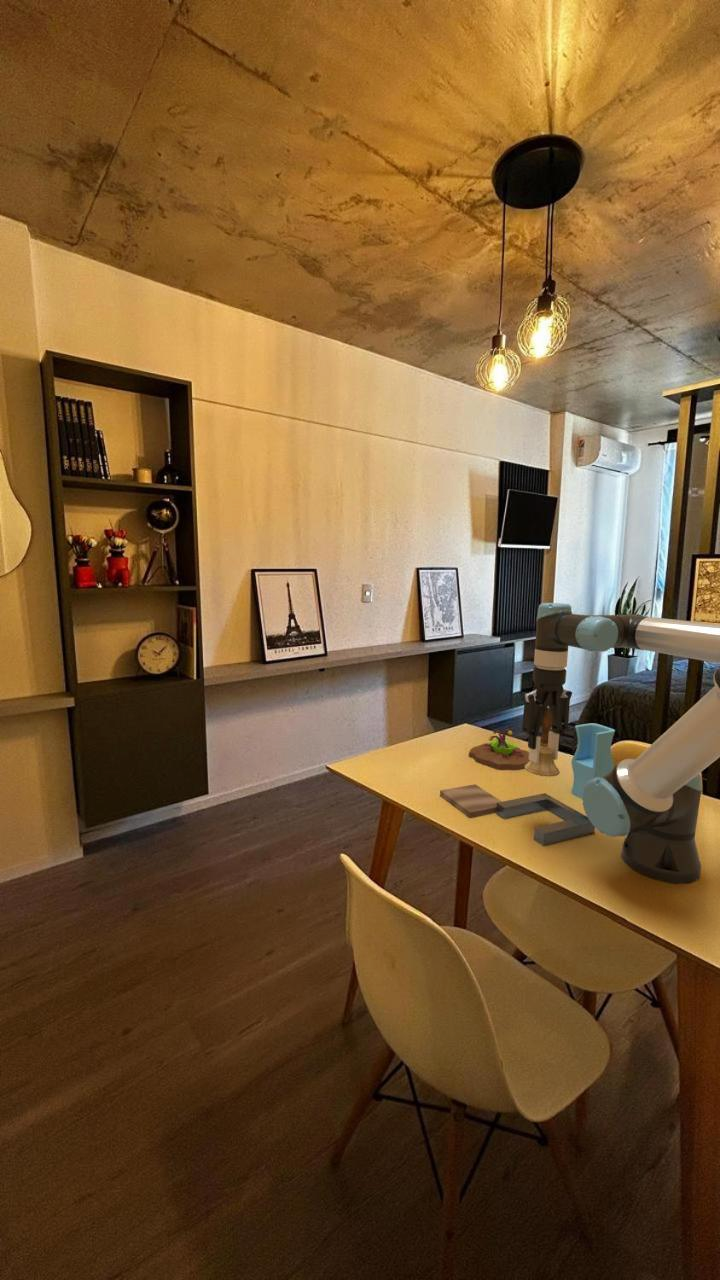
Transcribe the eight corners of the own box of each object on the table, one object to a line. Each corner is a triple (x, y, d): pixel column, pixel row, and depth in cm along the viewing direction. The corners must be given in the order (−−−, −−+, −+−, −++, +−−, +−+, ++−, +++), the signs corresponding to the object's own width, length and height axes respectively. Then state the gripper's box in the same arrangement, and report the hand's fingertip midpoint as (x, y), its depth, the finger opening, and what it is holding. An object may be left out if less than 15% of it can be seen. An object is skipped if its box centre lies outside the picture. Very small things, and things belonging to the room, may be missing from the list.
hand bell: (554, 765, 134) (559, 704, 131) (563, 777, 125) (569, 713, 123) (521, 763, 134) (525, 702, 132) (528, 775, 126) (533, 711, 124)
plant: (502, 775, 164) (504, 741, 162) (460, 755, 180) (461, 724, 179) (545, 764, 174) (548, 732, 172) (501, 746, 190) (504, 716, 189)
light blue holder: (568, 792, 152) (574, 725, 149) (587, 787, 156) (593, 722, 153) (591, 803, 145) (598, 733, 142) (610, 798, 149) (617, 730, 146)
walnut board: (506, 810, 140) (507, 804, 139) (469, 817, 135) (470, 812, 134) (474, 789, 152) (475, 784, 152) (439, 795, 147) (440, 790, 147)
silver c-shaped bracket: (594, 832, 129) (595, 821, 128) (542, 845, 122) (543, 833, 122) (544, 803, 144) (545, 793, 144) (496, 813, 137) (496, 802, 137)
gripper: (566, 662, 134) (559, 750, 137) (509, 666, 126) (503, 758, 129) (590, 667, 127) (582, 759, 130) (531, 672, 119) (524, 769, 122)
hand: (542, 759), depth 130 cm, fingers closed on hand bell, 5 cm apart
